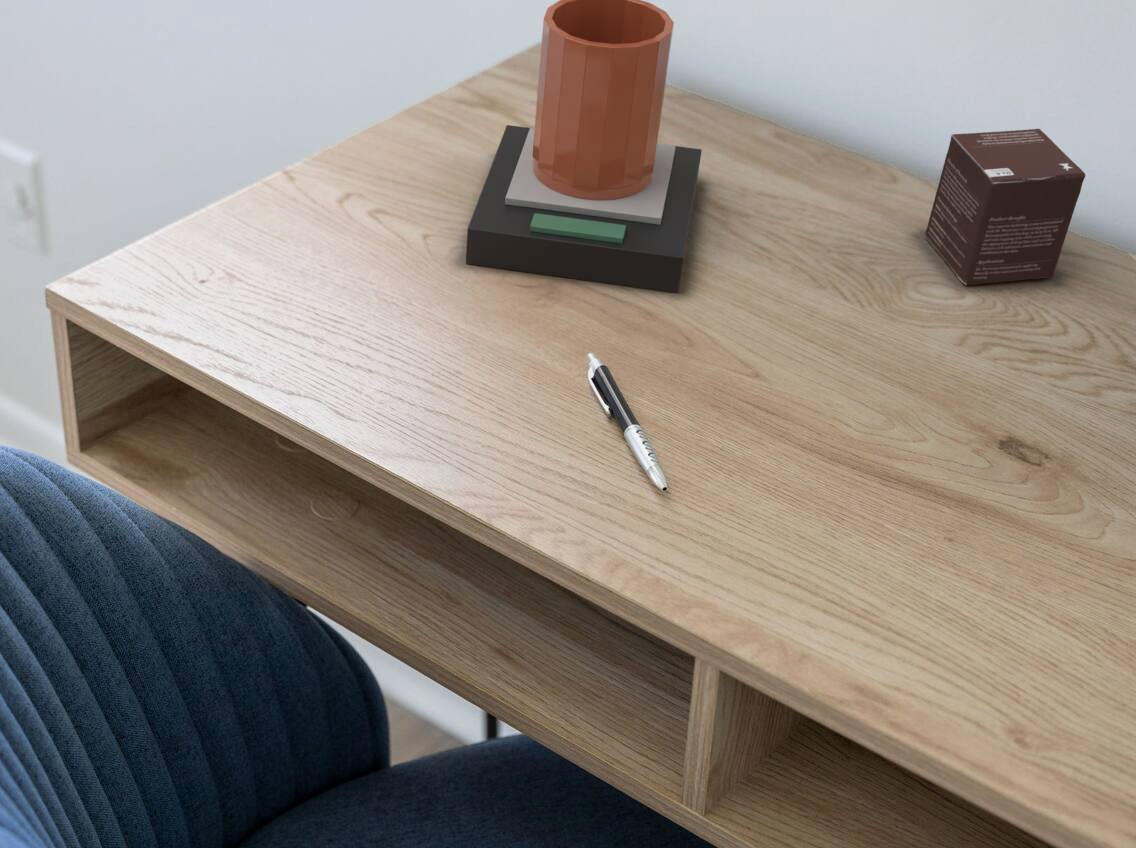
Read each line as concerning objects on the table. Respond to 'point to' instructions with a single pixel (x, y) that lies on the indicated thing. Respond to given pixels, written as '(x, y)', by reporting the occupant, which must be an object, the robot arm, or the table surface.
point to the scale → (584, 221)
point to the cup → (600, 96)
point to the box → (1003, 206)
